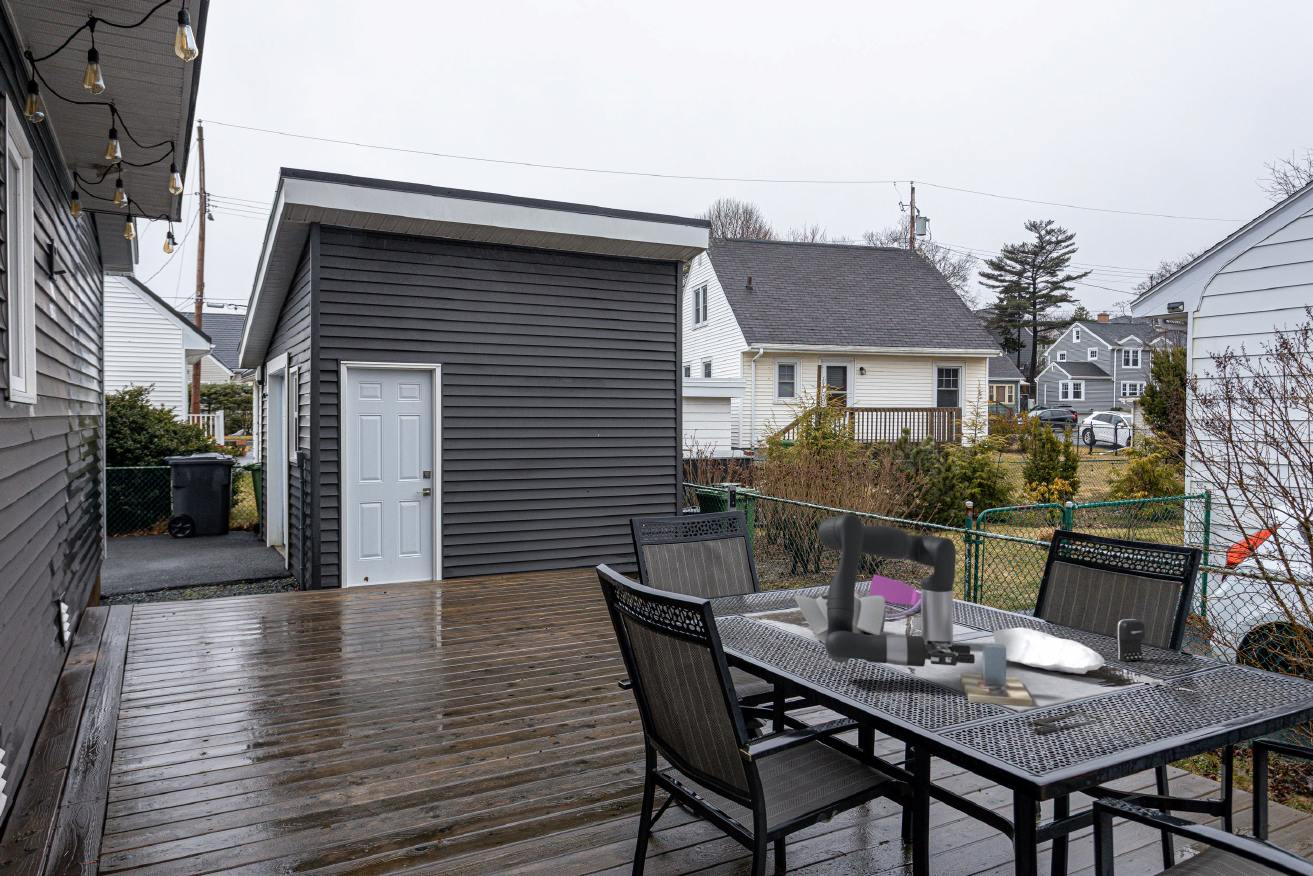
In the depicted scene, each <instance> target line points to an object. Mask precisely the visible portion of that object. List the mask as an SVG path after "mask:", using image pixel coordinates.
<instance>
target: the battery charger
mask: <svg viewBox="0 0 1313 876" xmlns="http://www.w3.org/2000/svg"><path fill="white" fill-rule="evenodd" d="M1145 625H1146V624H1145V623H1144V622H1143V621H1141V620H1138V619H1135V618H1127V619H1120V620H1118V622H1117V624H1116V645H1117V648H1116V649H1117V657H1116V658H1117V659H1118V660H1121V661H1123V662H1132V661H1131V660H1140V661H1143V660H1144V656H1143V653H1142V642H1143V640H1146V626H1145ZM1142 659H1143V660H1142Z"/></svg>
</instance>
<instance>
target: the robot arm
mask: <svg viewBox="0 0 1313 876" xmlns="http://www.w3.org/2000/svg"><path fill="white" fill-rule="evenodd" d="M817 535H818V538H819V541H820V542H821V544H822V545H823V546H824V547H826V548H827V549H829V550H832V551H841V557H840V561H839V564H838V567H837V569H836V571H835V574H834V576H833V577H832V580H831V582H830V585H829V588H828V591H827V594H828V599H827V619H828V631H827V638H826V641H825V644H824V645H825V650H826V651H825V652H826V654H827V656H828V657H829V658H830V660H832V661H834V662H836V663H845V662H847V661H849V660H851V659H852V660H854V659H855V660H864V661H865V662H868V663H873V664H875V663H876V664H887V665H889V664H890V665H895V666H907V667H924V666H925V665H926V660H929V661H930V664H931V665H940V666H942V665H943V666H952V667H954V666H955V667H956V666H957V664H970V665H971V664H975V661H976V658H975V657H976V656H975V654H973V653H971V646H970V645H968V644H954V606H953V605H954V599H953V598H954V597H953V596H954V595H953V593H954V592H953V590H954V587H953V586H954V582H955V578H956V560H957V559H956V558H957V557H956V554H957V551H956V546H955V543H954V541H953V540H952V539H950V538H948V537H942V536H936V535H935V536H933V535H914V534H913V535H912V534H908V533H907V532H906V531H905V530H903V529H900V528H897V527H893V526H888V525H878V524H877V525H863V522H862V520H861V519H860V518H859V517H858V516H857V515H856V514H853V513H845V514H840V515H836V516H833V517H828V518H826V519H825V520H823V521H822V522H821V523H820V524H819V527H818V531H817ZM861 554H865V555H870V556H875V557H879V558H883V559H890V560H902V559H905V560H910V561H913V562H915V563H918V564H920V565H923V566H926V567H934V570H933V574H932V575H930V576H928V577H924V578H922V579H921V580H920V594H921V606H920V612H921V614H920V616H921V617H920V620H921V621H920V625H921V627H920V631H921V632H920V633H921V634H920V635H902V634H891V635H886V634H883V635H865V634H860V633H854V632H853V618H854V593H855V590H856V582H857V575H858V571H859V565H860V561H861V560H860V559H861Z"/></svg>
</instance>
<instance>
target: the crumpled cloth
mask: <svg viewBox="0 0 1313 876" xmlns="http://www.w3.org/2000/svg"><path fill="white" fill-rule="evenodd" d="M992 635H993V636H992V637H993V639H994V644H1004V645H1005V647H1006V662H1007V661H1009V662H1013V663H1020V664H1022V665H1026V666H1030V667H1034V668H1040V669H1044V670H1047V671H1053V672H1054V671H1057V672H1065V673H1068V674H1069V673H1074V674H1080V675H1081V674H1082V675H1083V674H1086V673H1087V672H1088V671H1096V670H1099V669H1100V668H1101V667H1103V665H1104V664H1105V658H1104V657H1103V656H1102V655H1101V654H1100V653H1098V652H1097V651H1095V650H1093V649H1092V648H1090V647H1089V646H1086V645H1084V644H1083V643H1081V642H1078V641H1076V640H1072V639H1067V638H1059V637H1057V636H1054V635H1052V634H1048V633H1046V632H1042V631H1038V630H1035V629H1031V628H1028V627H1027V628H1026V627H1013V628H1002V629H998V630H994V631H993V632H992Z"/></svg>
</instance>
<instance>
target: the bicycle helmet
mask: <svg viewBox="0 0 1313 876" xmlns="http://www.w3.org/2000/svg"><path fill="white" fill-rule="evenodd" d="M794 599H795V601H796V603H797V605H798V608H799V609H800V611H801V613H802V615H803V617H804V618H805V621H806V622H807V623H808V625H809V627H810V629H811V631H812V634H813V636H814V637H815V638H816V639H817V640H819V641H821V642H822V643H823V644H824V645H825V641H826V638H827V631H828V619H827V599H828V593H827V594H823V595H821V596H819V597H817V598H813V597H809V596H804V595H794ZM885 614H886V601H885V600H884V597H883V596H881V595H878V596H870V595H868V596H863V597H860V598H856V597H854V618H853V632H854V633H860V634H865V635H884V630H885V622H886V621H885V620H886V618H885Z"/></svg>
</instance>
